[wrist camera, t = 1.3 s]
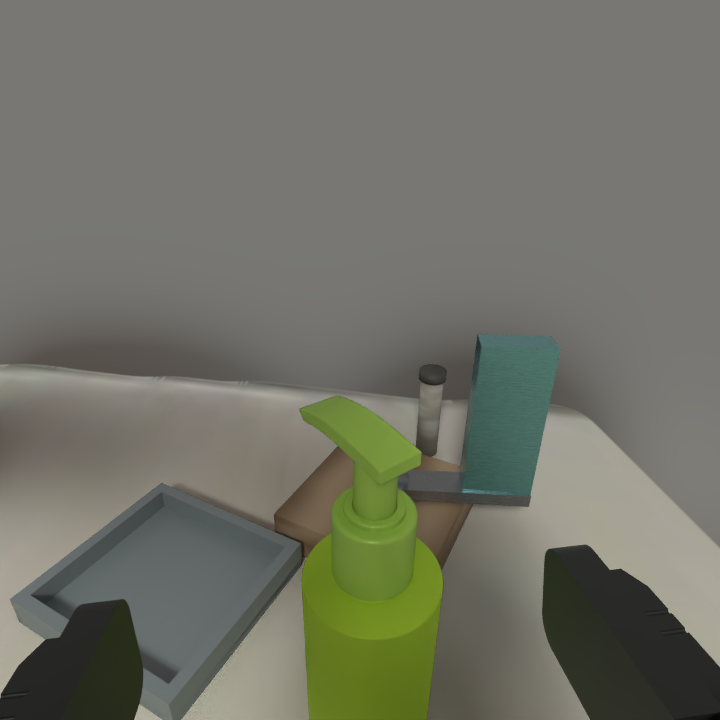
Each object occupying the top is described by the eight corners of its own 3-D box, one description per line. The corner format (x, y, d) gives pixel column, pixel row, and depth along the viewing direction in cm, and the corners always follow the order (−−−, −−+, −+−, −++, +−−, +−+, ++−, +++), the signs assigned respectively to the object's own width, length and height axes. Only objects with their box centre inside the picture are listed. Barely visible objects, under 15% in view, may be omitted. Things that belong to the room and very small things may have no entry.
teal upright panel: (354, 505, 40) (356, 348, 34) (358, 471, 43) (360, 323, 37) (531, 515, 39) (564, 356, 33) (519, 479, 42) (548, 330, 36)
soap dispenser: (365, 657, 32) (373, 372, 23) (445, 760, 28) (495, 449, 18) (281, 717, 29) (252, 414, 20) (354, 845, 24) (359, 521, 15)
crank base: (276, 543, 40) (268, 450, 36) (377, 427, 54) (380, 351, 50) (422, 609, 36) (432, 509, 31) (492, 463, 49) (505, 381, 45)
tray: (19, 621, 34) (9, 599, 33) (165, 502, 44) (161, 482, 43) (174, 727, 29) (168, 704, 28) (302, 564, 39) (301, 543, 38)
